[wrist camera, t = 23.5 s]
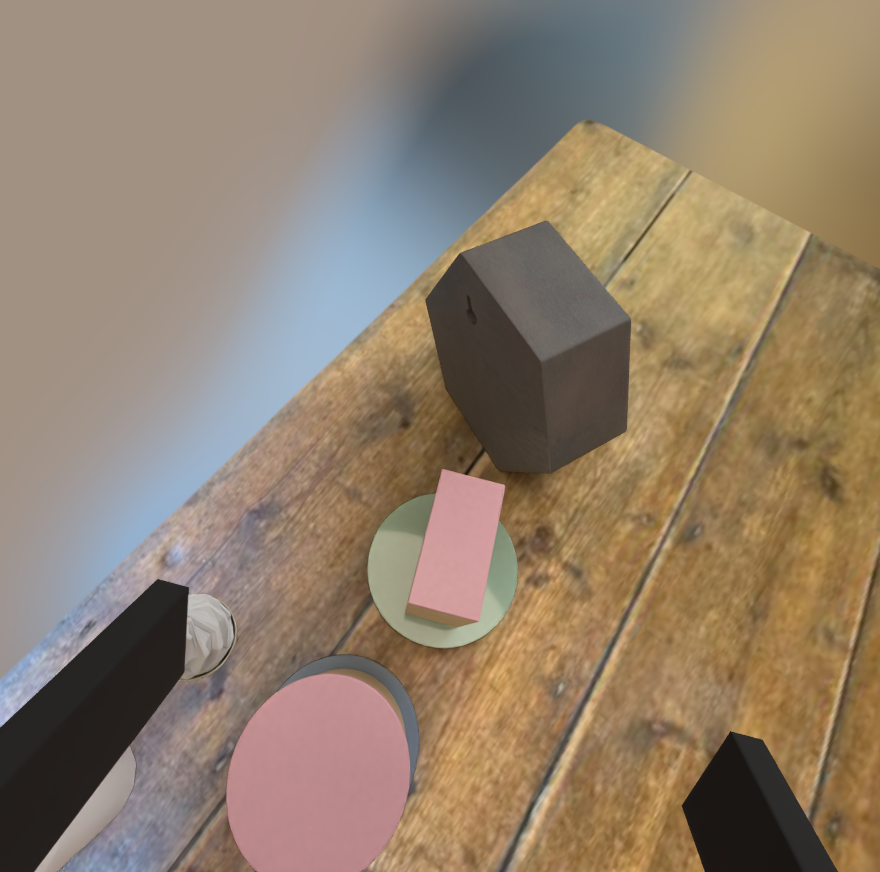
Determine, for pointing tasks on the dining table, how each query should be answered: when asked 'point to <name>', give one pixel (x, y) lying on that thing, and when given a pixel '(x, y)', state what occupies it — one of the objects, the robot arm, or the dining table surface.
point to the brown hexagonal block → (532, 350)
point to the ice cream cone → (207, 636)
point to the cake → (324, 769)
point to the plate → (396, 569)
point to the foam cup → (94, 813)
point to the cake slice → (456, 550)
